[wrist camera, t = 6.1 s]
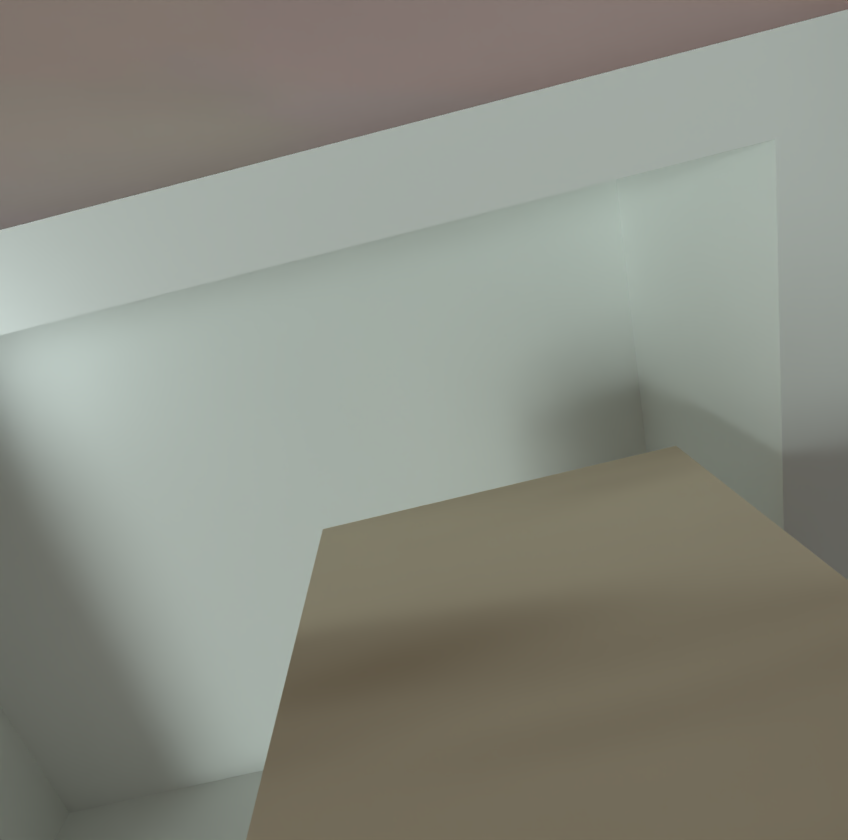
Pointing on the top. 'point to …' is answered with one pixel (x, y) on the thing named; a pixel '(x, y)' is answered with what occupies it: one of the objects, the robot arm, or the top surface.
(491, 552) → the beige rectangular block
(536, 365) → the tote
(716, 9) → the top surface
